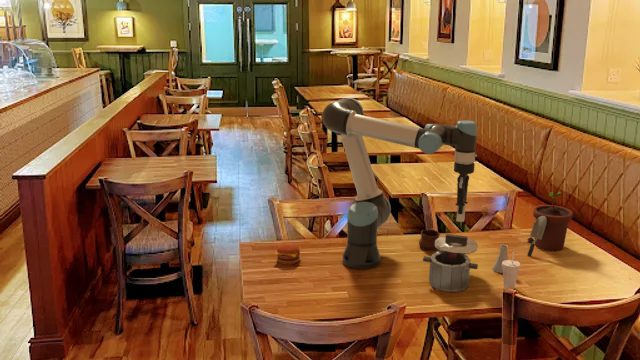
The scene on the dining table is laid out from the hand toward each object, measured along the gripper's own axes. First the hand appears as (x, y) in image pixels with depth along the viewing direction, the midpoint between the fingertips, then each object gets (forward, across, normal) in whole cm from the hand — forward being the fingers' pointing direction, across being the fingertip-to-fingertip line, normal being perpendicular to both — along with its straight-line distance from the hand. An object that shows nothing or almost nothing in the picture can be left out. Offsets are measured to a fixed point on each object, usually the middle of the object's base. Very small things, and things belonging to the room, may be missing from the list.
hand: (460, 220), depth 242 cm
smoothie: (+19, -14, -21) cm, 31 cm away
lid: (+8, -7, 0) cm, 11 cm away
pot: (+18, -19, 0) cm, 26 cm away
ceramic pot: (+19, +13, +14) cm, 27 cm away
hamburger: (+19, -21, +64) cm, 70 cm away
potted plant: (+19, +31, -31) cm, 48 cm away
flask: (+19, +1, -17) cm, 25 cm away
